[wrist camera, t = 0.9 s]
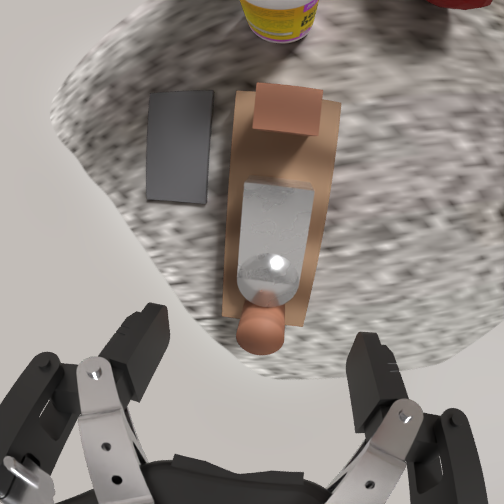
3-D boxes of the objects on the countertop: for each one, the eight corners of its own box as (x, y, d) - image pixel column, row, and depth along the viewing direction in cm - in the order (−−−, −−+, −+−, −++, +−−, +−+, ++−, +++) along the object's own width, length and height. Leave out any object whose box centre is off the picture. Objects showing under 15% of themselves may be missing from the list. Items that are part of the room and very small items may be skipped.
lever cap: (250, 175, 24) (244, 182, 20) (310, 182, 23) (314, 191, 20) (241, 280, 28) (235, 302, 24) (293, 287, 28) (293, 310, 24)
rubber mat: (152, 93, 25) (150, 93, 24) (214, 91, 24) (212, 90, 24) (148, 197, 30) (146, 199, 29) (206, 202, 29) (205, 203, 29)
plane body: (243, 96, 24) (217, 74, 14) (333, 107, 24) (362, 90, 14) (228, 298, 34) (206, 361, 24) (301, 307, 33) (304, 375, 23)
